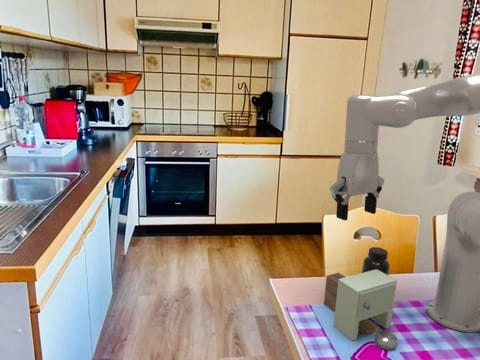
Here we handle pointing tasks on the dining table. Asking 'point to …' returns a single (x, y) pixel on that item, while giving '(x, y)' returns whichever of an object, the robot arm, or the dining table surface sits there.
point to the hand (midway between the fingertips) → (356, 215)
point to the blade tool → (330, 302)
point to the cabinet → (364, 301)
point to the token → (385, 340)
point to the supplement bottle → (376, 261)
